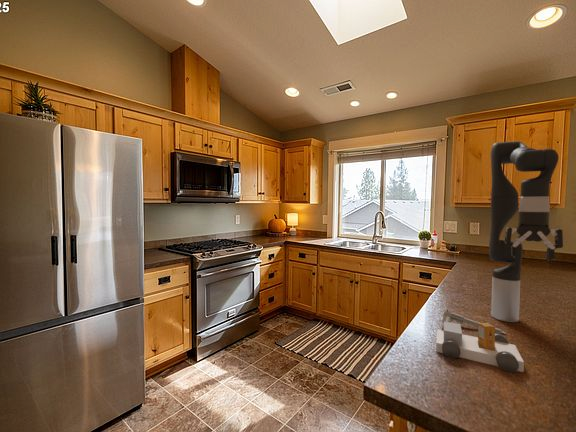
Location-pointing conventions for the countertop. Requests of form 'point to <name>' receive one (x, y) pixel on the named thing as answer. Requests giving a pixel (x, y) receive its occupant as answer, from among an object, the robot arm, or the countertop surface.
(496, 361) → the chassis
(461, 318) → the caliper
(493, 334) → the supplement box
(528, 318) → the countertop surface
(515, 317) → the robot arm
